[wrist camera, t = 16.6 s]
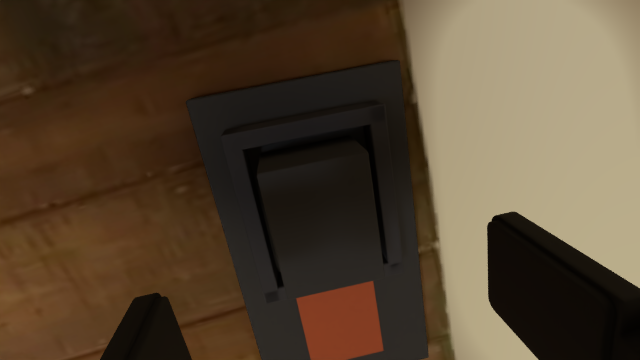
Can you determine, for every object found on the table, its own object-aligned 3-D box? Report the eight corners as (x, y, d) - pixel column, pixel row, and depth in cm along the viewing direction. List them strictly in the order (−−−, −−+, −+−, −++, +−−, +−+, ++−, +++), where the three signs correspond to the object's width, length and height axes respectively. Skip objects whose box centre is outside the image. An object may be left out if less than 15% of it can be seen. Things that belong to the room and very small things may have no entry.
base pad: (190, 98, 17) (176, 104, 15) (393, 60, 18) (411, 59, 15) (272, 382, 23) (272, 418, 20) (422, 345, 23) (439, 377, 21)
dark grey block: (259, 153, 17) (256, 174, 14) (350, 134, 17) (368, 151, 14) (285, 260, 19) (287, 301, 16) (366, 242, 19) (386, 278, 16)
